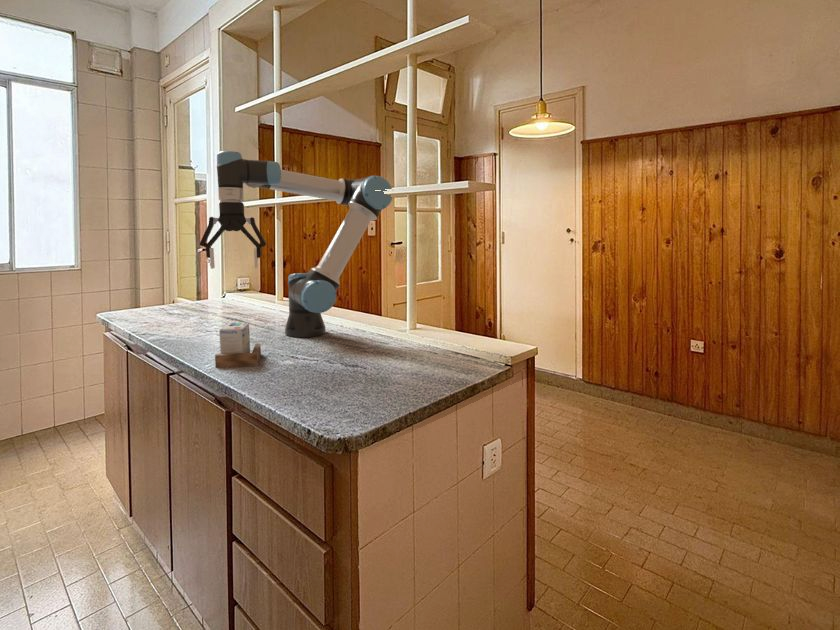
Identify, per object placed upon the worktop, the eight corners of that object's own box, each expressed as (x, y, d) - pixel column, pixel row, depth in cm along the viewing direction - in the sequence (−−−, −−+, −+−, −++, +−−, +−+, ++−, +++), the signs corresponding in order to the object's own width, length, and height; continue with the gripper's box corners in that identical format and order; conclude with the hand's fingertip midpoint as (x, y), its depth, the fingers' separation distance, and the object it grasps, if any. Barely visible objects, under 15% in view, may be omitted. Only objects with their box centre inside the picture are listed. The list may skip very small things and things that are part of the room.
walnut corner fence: (260, 354, 165) (260, 343, 164) (257, 365, 152) (256, 353, 151) (222, 356, 162) (222, 345, 162) (215, 367, 149) (215, 355, 149)
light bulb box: (229, 355, 163) (227, 322, 161) (251, 355, 164) (249, 322, 162) (220, 364, 152) (218, 328, 151) (244, 364, 153) (242, 328, 151)
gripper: (187, 200, 159) (191, 269, 163) (271, 202, 165) (273, 268, 168) (192, 201, 167) (196, 267, 170) (272, 203, 172) (274, 266, 175)
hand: (234, 268), depth 169 cm, fingers open, 13 cm apart
